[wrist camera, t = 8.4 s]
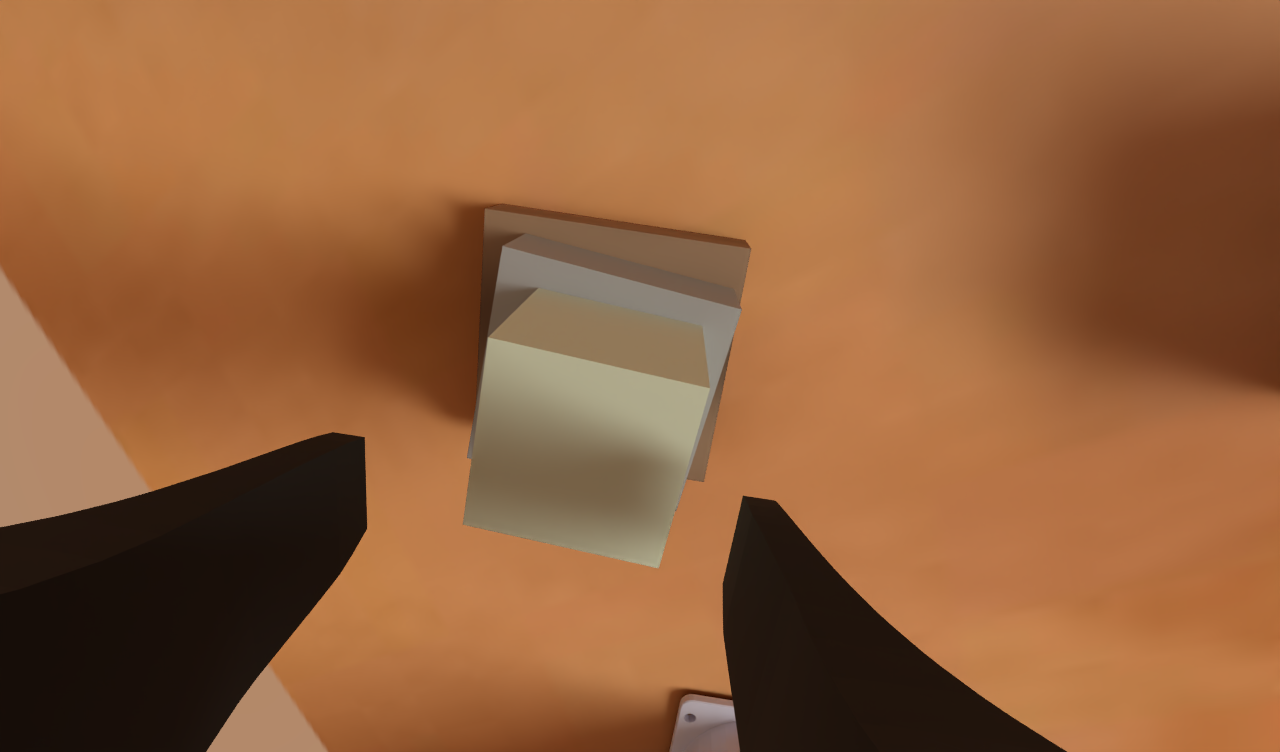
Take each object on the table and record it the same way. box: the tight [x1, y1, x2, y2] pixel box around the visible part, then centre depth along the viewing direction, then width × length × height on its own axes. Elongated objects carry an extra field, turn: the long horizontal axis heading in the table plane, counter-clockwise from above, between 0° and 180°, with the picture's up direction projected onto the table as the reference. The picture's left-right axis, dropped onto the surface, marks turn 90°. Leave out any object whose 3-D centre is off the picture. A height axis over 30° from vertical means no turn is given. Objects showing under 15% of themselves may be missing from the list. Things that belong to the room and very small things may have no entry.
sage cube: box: [463, 288, 710, 568], centre depth 15 cm, size 4×4×4 cm
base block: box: [476, 204, 751, 482], centre depth 20 cm, size 8×8×2 cm
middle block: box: [467, 234, 742, 511], centre depth 18 cm, size 6×6×2 cm
